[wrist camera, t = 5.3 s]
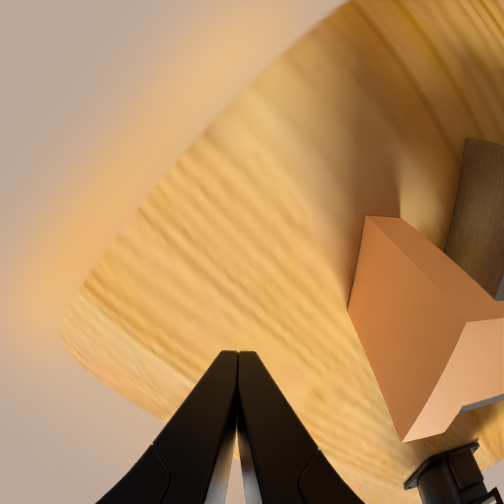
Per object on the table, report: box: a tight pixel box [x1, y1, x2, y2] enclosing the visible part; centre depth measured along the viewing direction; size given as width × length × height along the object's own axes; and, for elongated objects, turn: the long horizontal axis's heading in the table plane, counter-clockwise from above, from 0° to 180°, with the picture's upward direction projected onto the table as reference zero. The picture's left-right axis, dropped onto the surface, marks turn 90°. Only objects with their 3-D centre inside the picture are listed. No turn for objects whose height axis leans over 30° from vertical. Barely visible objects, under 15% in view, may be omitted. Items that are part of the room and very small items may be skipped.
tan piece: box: [347, 215, 504, 443], centre depth 10 cm, size 4×5×7 cm
